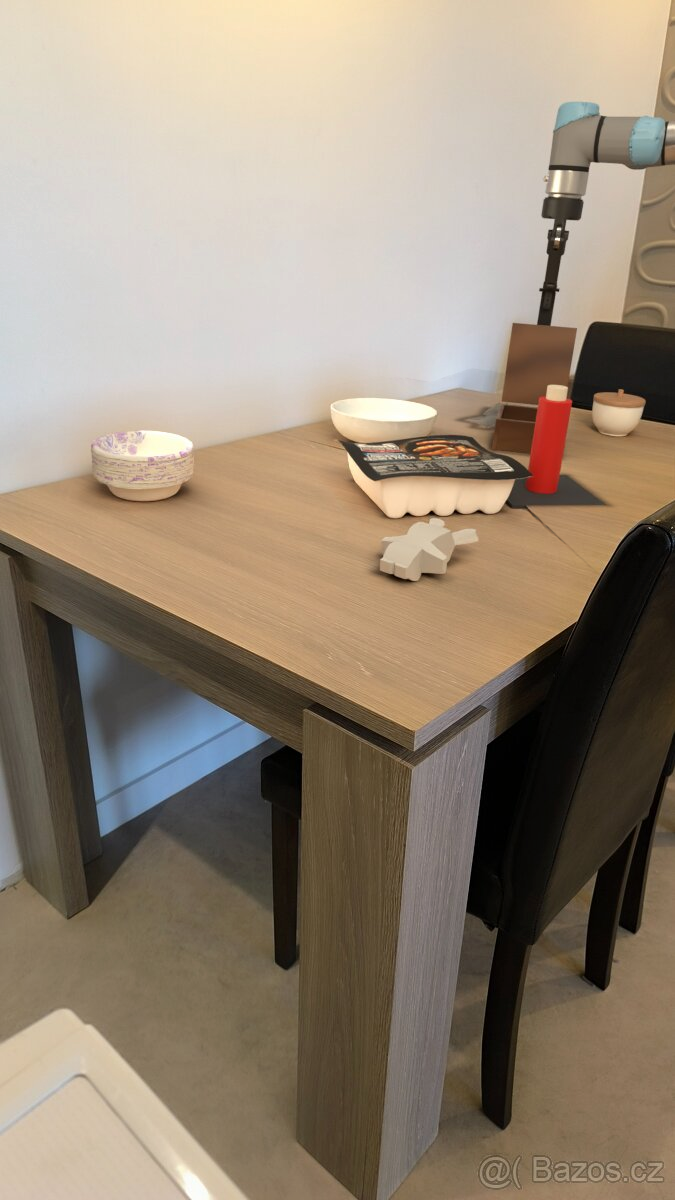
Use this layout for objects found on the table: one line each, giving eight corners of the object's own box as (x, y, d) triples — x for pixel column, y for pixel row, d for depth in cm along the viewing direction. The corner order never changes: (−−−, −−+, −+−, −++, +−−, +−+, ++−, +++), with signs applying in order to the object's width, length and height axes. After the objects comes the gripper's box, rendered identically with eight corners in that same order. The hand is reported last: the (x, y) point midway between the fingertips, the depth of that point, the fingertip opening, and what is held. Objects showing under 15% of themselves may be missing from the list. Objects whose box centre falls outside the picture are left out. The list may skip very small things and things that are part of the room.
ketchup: (549, 484, 142) (566, 383, 134) (561, 493, 137) (580, 390, 130) (520, 484, 141) (536, 383, 133) (532, 493, 136) (548, 389, 129)
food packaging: (472, 433, 143) (534, 471, 123) (467, 475, 146) (526, 518, 127) (333, 435, 136) (375, 476, 117) (331, 479, 140) (371, 526, 120)
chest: (557, 461, 158) (563, 425, 155) (491, 453, 160) (496, 418, 157) (558, 442, 170) (563, 409, 168) (496, 436, 173) (501, 403, 170)
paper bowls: (174, 513, 121) (172, 460, 117) (77, 502, 123) (72, 450, 119) (208, 483, 134) (207, 435, 131) (119, 473, 136) (116, 426, 133)
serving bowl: (449, 440, 168) (453, 406, 165) (408, 463, 151) (412, 426, 148) (357, 424, 176) (359, 391, 173) (309, 444, 159) (310, 409, 156)
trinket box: (632, 442, 174) (641, 397, 170) (582, 433, 179) (590, 389, 175) (642, 432, 183) (651, 389, 179) (594, 424, 187) (602, 382, 183)
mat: (566, 478, 148) (566, 475, 147) (605, 508, 133) (606, 504, 133) (480, 478, 145) (480, 474, 145) (511, 508, 131) (512, 504, 130)
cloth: (509, 436, 173) (510, 426, 172) (449, 425, 179) (450, 415, 178) (550, 416, 193) (551, 406, 192) (495, 406, 199) (496, 397, 198)
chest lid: (577, 328, 163) (577, 328, 164) (512, 322, 165) (512, 323, 166) (564, 407, 167) (564, 407, 168) (501, 401, 169) (501, 401, 170)
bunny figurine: (361, 542, 103) (427, 501, 113) (362, 577, 106) (426, 535, 116) (425, 563, 98) (488, 519, 108) (424, 600, 101) (485, 553, 111)
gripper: (544, 196, 164) (526, 320, 174) (543, 194, 152) (523, 328, 162) (583, 198, 162) (562, 324, 173) (585, 197, 151) (562, 331, 161)
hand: (543, 325), depth 167 cm, fingers closed
